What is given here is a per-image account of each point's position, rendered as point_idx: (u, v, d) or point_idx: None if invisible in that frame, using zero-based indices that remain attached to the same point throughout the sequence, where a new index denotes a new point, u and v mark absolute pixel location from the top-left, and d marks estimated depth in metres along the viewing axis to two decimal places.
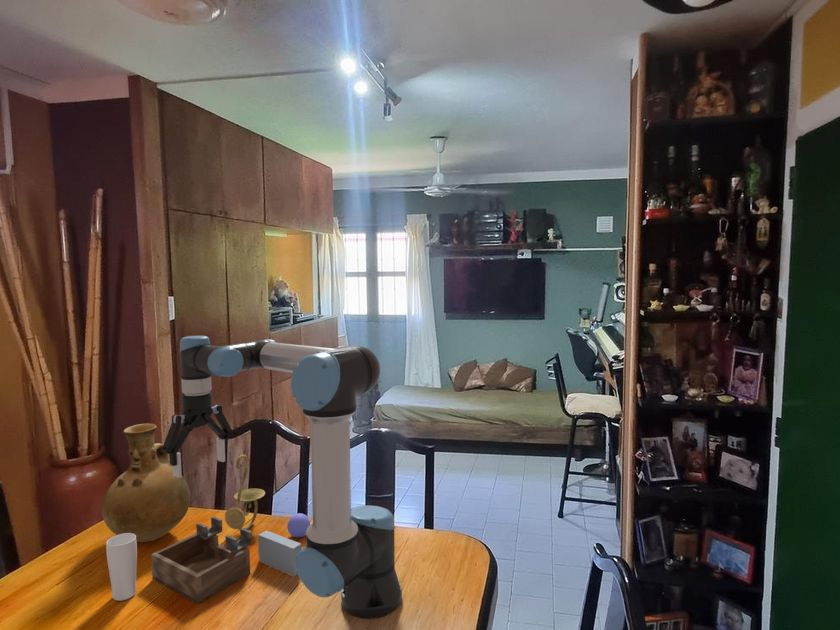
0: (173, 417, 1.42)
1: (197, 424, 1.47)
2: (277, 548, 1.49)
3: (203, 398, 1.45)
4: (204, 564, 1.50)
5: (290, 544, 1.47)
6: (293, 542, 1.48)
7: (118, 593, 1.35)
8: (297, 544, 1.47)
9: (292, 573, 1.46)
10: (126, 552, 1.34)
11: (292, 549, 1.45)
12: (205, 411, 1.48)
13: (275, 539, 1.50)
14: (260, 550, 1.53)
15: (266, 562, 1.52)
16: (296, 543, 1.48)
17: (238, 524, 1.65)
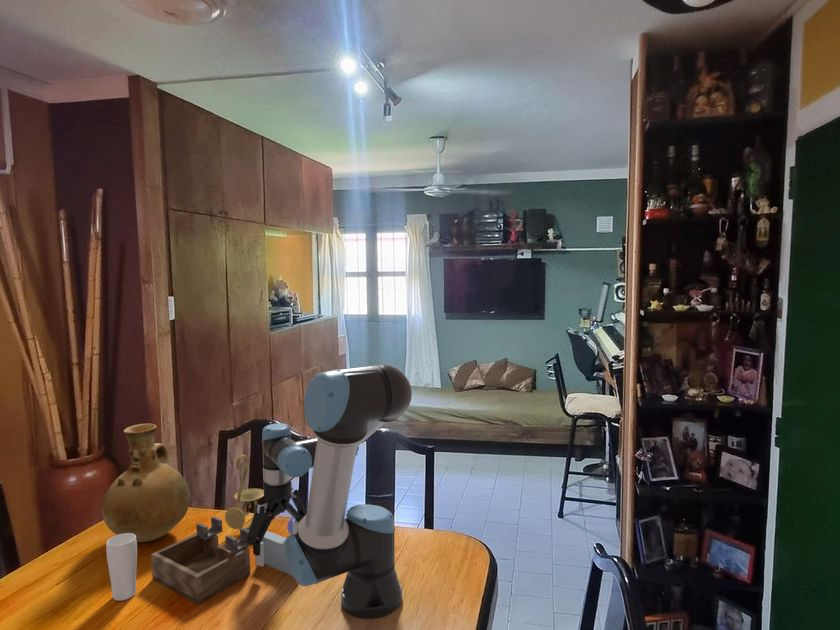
0: (257, 507, 1.44)
1: (278, 511, 1.48)
2: (277, 548, 1.49)
3: (285, 488, 1.46)
4: (204, 564, 1.50)
5: None
6: None
7: (118, 593, 1.35)
8: None
9: (292, 573, 1.46)
10: (126, 552, 1.34)
11: None
12: (285, 498, 1.50)
13: (275, 539, 1.50)
14: None
15: (266, 562, 1.52)
16: None
17: (238, 524, 1.65)
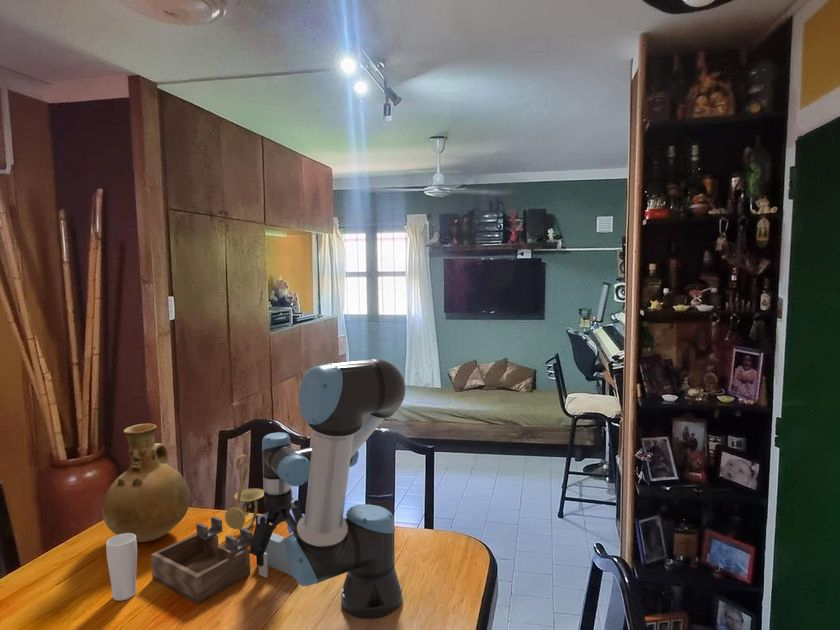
0: (257, 518, 1.44)
1: (278, 521, 1.48)
2: (277, 548, 1.49)
3: (285, 497, 1.47)
4: (204, 564, 1.50)
5: None
6: None
7: (118, 593, 1.35)
8: None
9: None
10: (126, 552, 1.34)
11: None
12: (285, 507, 1.50)
13: (275, 538, 1.50)
14: None
15: None
16: None
17: (238, 524, 1.65)
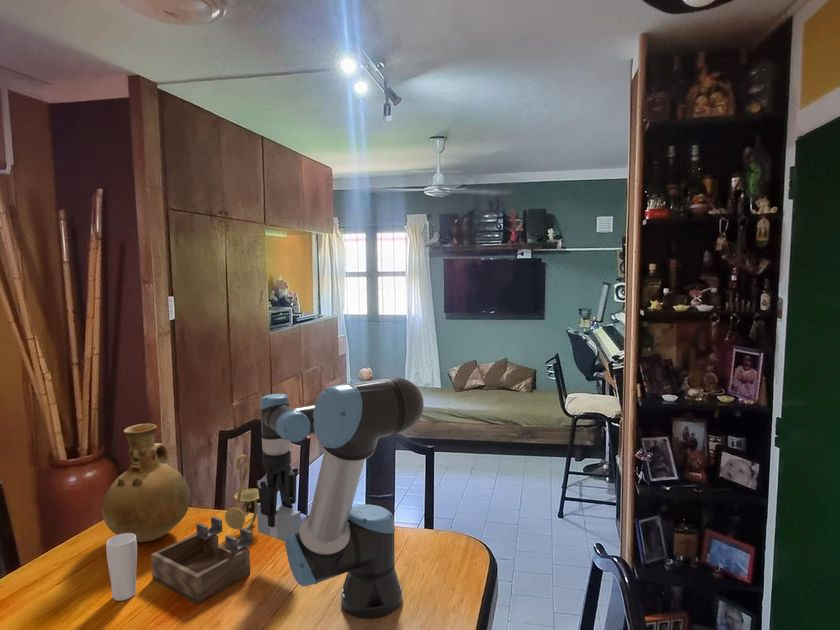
0: (257, 484, 1.44)
1: None
2: None
3: (284, 457, 1.46)
4: (204, 564, 1.50)
5: (289, 512, 1.46)
6: (292, 510, 1.47)
7: (118, 593, 1.35)
8: (296, 512, 1.46)
9: None
10: (126, 552, 1.34)
11: (291, 516, 1.44)
12: (284, 469, 1.49)
13: None
14: (259, 520, 1.52)
15: (265, 531, 1.51)
16: (295, 511, 1.47)
17: (238, 524, 1.65)
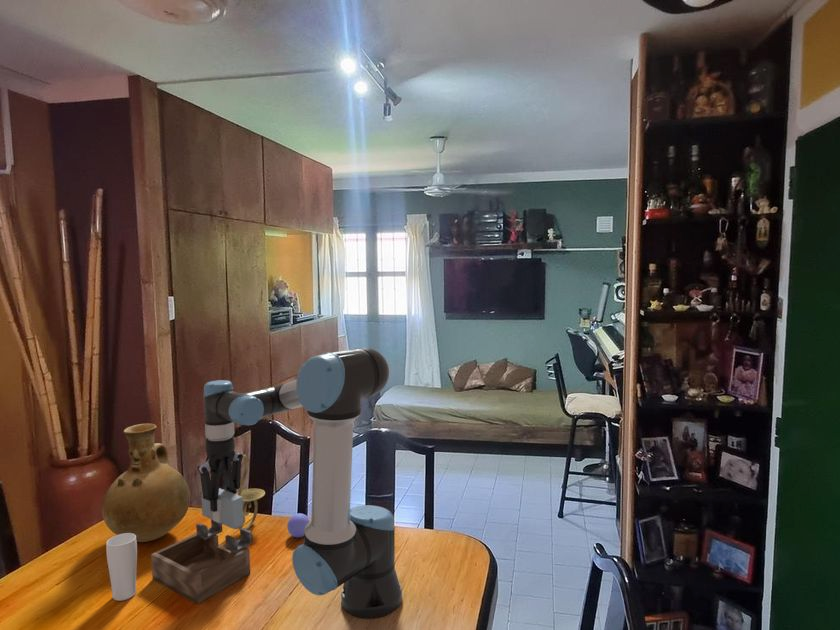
0: (199, 469, 1.45)
1: None
2: None
3: (226, 443, 1.47)
4: (204, 564, 1.50)
5: (231, 497, 1.48)
6: (235, 495, 1.49)
7: (118, 593, 1.35)
8: (238, 497, 1.48)
9: (232, 525, 1.47)
10: (126, 552, 1.34)
11: (232, 501, 1.46)
12: (228, 455, 1.50)
13: None
14: (203, 503, 1.53)
15: (208, 515, 1.52)
16: (237, 496, 1.48)
17: None
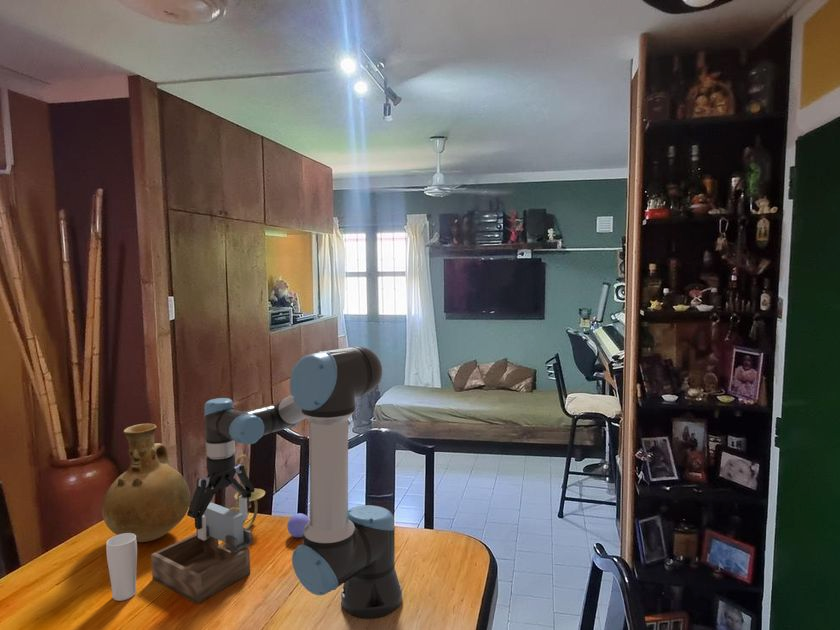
0: (198, 481, 1.45)
1: (221, 486, 1.49)
2: (219, 519, 1.50)
3: (227, 461, 1.47)
4: (204, 564, 1.50)
5: (232, 515, 1.48)
6: (235, 513, 1.49)
7: (118, 593, 1.35)
8: (239, 514, 1.48)
9: None
10: (126, 552, 1.34)
11: (233, 519, 1.46)
12: (228, 473, 1.51)
13: (218, 509, 1.51)
14: None
15: (209, 533, 1.53)
16: (238, 513, 1.49)
17: None
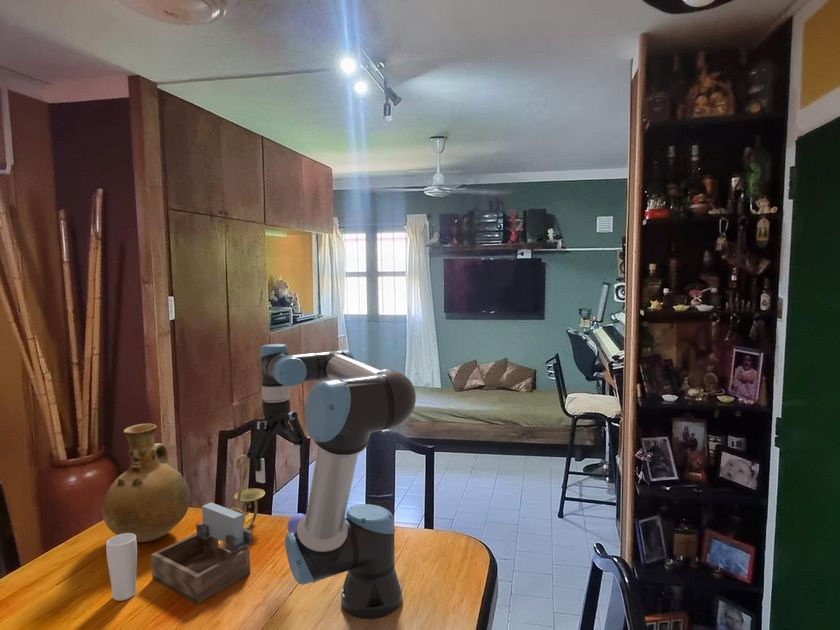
0: (256, 423, 1.46)
1: (277, 430, 1.50)
2: (219, 519, 1.50)
3: (284, 405, 1.49)
4: (204, 564, 1.50)
5: (232, 515, 1.48)
6: (235, 513, 1.49)
7: (118, 593, 1.35)
8: (239, 514, 1.48)
9: None
10: (126, 552, 1.34)
11: (233, 519, 1.46)
12: (283, 418, 1.52)
13: (218, 509, 1.51)
14: (204, 521, 1.54)
15: (209, 533, 1.53)
16: (238, 513, 1.49)
17: None
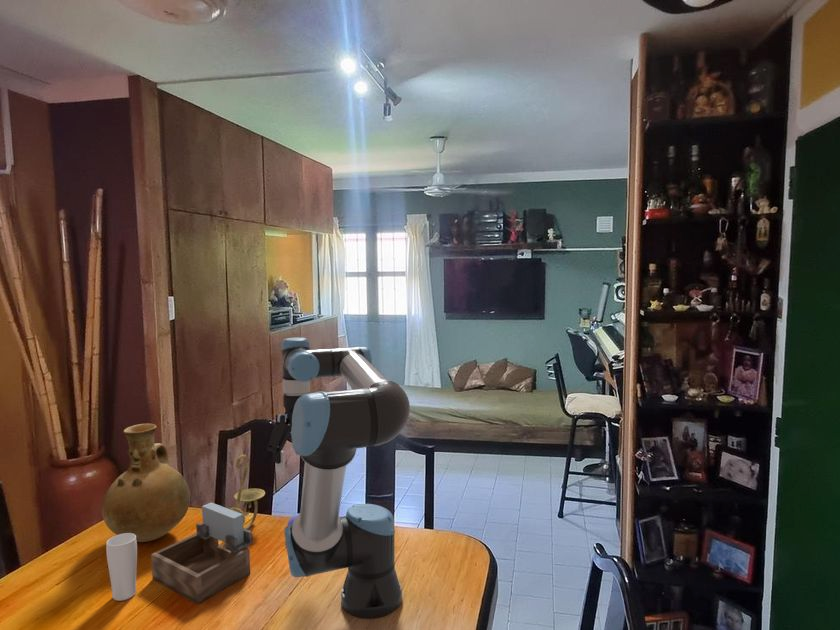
0: (277, 416, 1.47)
1: None
2: (219, 519, 1.50)
3: None
4: (204, 564, 1.50)
5: (232, 515, 1.48)
6: (235, 513, 1.49)
7: (118, 593, 1.35)
8: (239, 514, 1.48)
9: None
10: (126, 552, 1.34)
11: (233, 519, 1.46)
12: None
13: (218, 509, 1.51)
14: (204, 521, 1.54)
15: (209, 533, 1.53)
16: (238, 513, 1.49)
17: None
